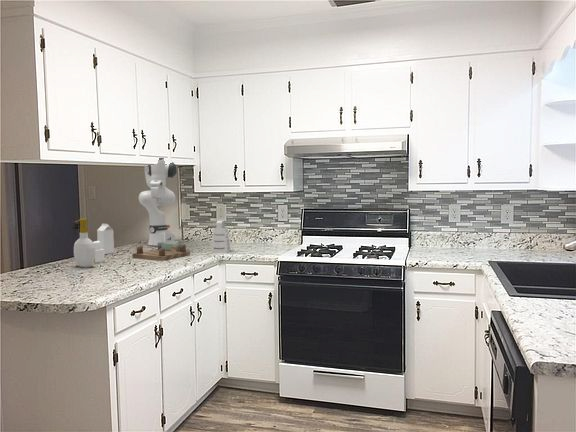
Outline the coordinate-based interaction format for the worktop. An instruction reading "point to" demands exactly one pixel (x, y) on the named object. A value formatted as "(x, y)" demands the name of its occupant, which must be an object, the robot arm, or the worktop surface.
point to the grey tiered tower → (220, 238)
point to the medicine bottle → (98, 252)
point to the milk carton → (106, 238)
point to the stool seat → (161, 253)
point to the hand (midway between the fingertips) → (158, 204)
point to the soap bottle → (84, 247)
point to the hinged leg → (168, 245)
